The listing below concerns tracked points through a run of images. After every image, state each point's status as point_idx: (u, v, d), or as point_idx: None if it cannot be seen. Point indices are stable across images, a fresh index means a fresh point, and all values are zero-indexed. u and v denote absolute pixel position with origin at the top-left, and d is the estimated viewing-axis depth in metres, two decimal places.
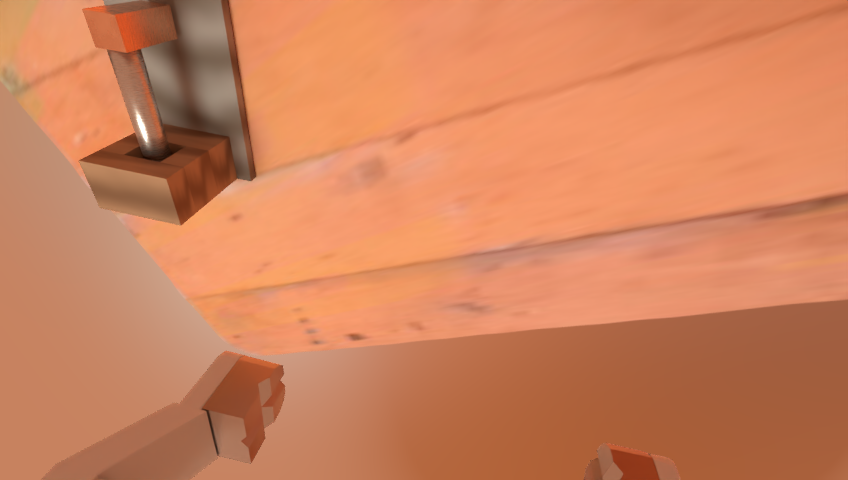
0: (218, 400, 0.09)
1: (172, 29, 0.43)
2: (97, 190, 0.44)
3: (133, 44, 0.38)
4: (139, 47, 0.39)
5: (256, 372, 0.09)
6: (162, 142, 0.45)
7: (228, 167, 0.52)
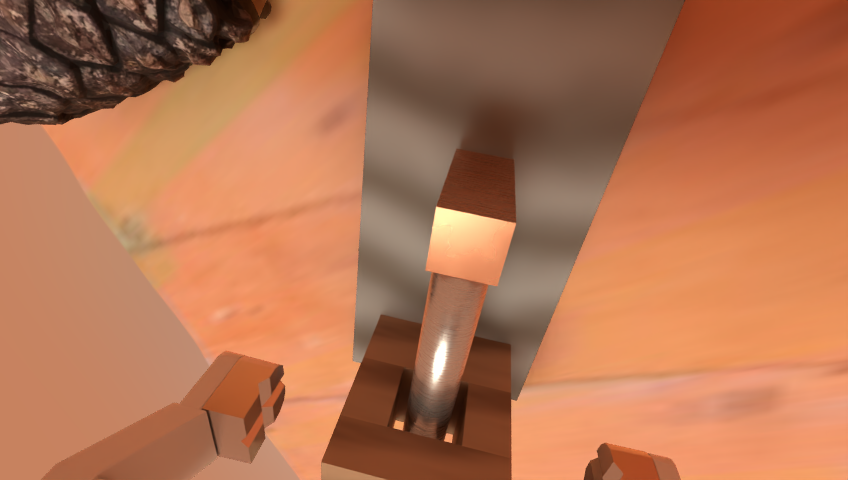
0: (218, 400, 0.09)
1: None
2: None
3: None
4: None
5: (256, 372, 0.09)
6: None
7: None
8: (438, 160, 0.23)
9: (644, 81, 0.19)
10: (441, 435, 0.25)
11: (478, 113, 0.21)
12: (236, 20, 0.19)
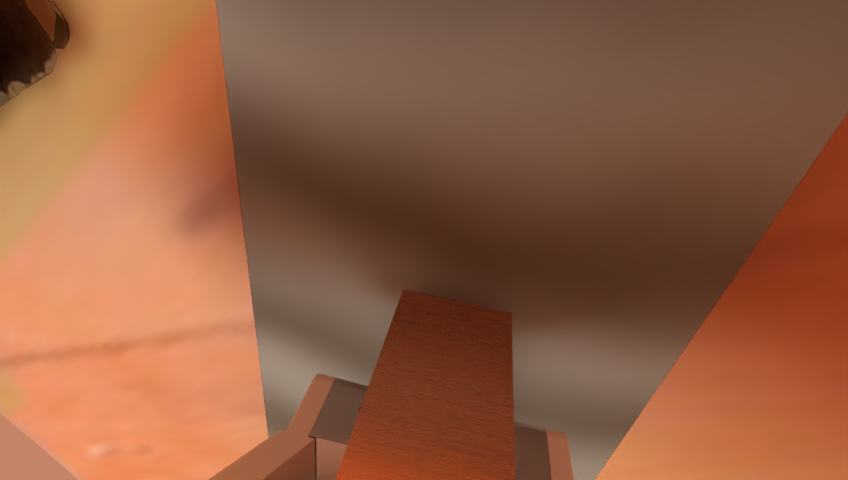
0: (323, 427, 0.09)
1: None
2: None
3: None
4: None
5: (354, 396, 0.09)
6: None
7: None
8: (376, 296, 0.13)
9: (783, 184, 0.09)
10: None
11: (443, 226, 0.11)
12: None
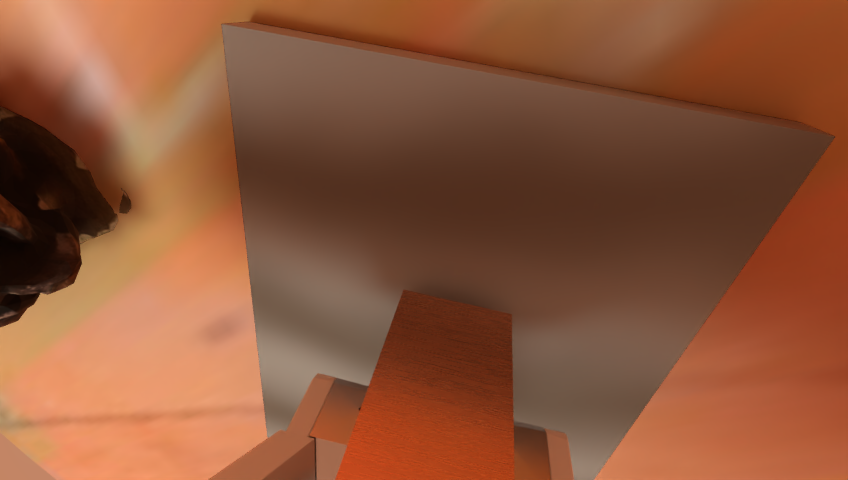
0: (323, 427, 0.09)
1: None
2: None
3: None
4: None
5: (354, 396, 0.09)
6: None
7: None
8: None
9: (668, 357, 0.12)
10: None
11: None
12: (41, 267, 0.12)
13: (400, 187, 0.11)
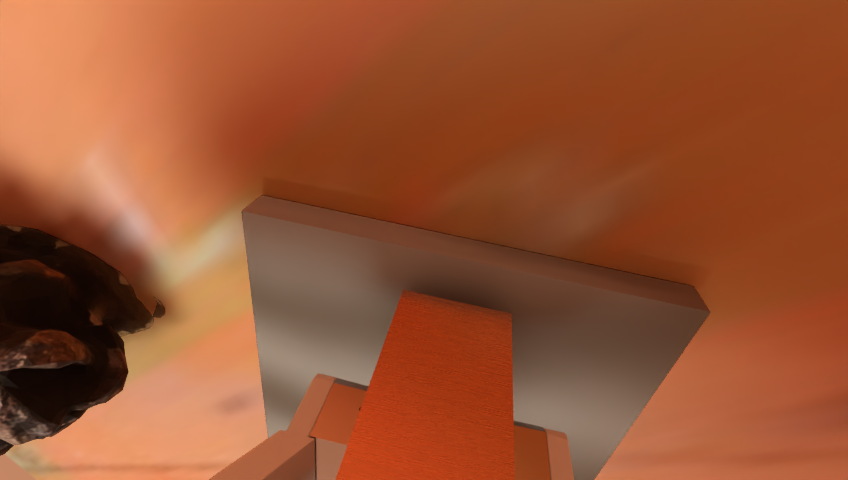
0: (323, 427, 0.09)
1: None
2: None
3: None
4: None
5: (354, 396, 0.09)
6: None
7: None
8: None
9: (605, 449, 0.15)
10: None
11: None
12: (99, 382, 0.14)
13: (383, 323, 0.14)
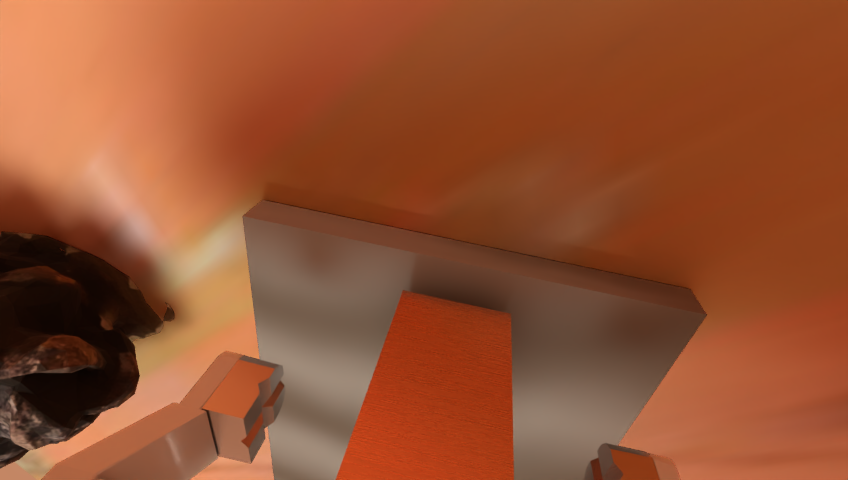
0: (218, 400, 0.09)
1: None
2: None
3: None
4: None
5: (256, 372, 0.09)
6: None
7: None
8: None
9: None
10: None
11: None
12: (111, 387, 0.14)
13: (383, 326, 0.14)
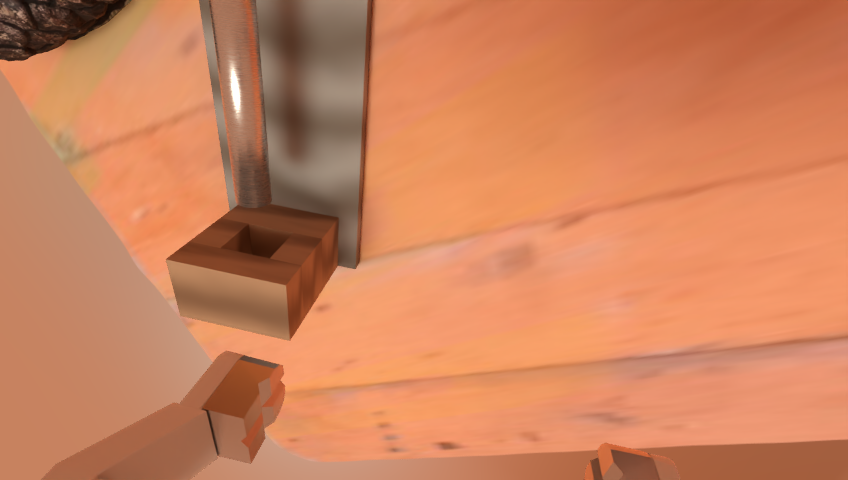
0: (218, 400, 0.09)
1: None
2: (182, 295, 0.33)
3: None
4: None
5: (256, 372, 0.09)
6: (259, 100, 0.29)
7: (333, 254, 0.41)
8: None
9: (363, 4, 0.30)
10: (254, 142, 0.30)
11: (272, 31, 0.33)
12: None
13: None
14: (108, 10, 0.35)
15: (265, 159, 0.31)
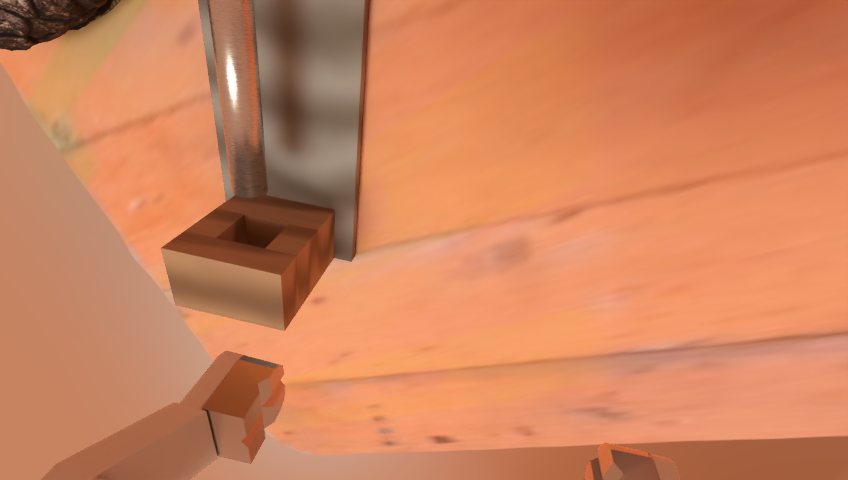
0: (218, 400, 0.09)
1: None
2: (177, 284, 0.33)
3: None
4: None
5: (256, 372, 0.09)
6: (256, 89, 0.29)
7: (329, 246, 0.41)
8: None
9: None
10: (250, 131, 0.30)
11: (270, 21, 0.32)
12: None
13: None
14: None
15: (261, 149, 0.31)
